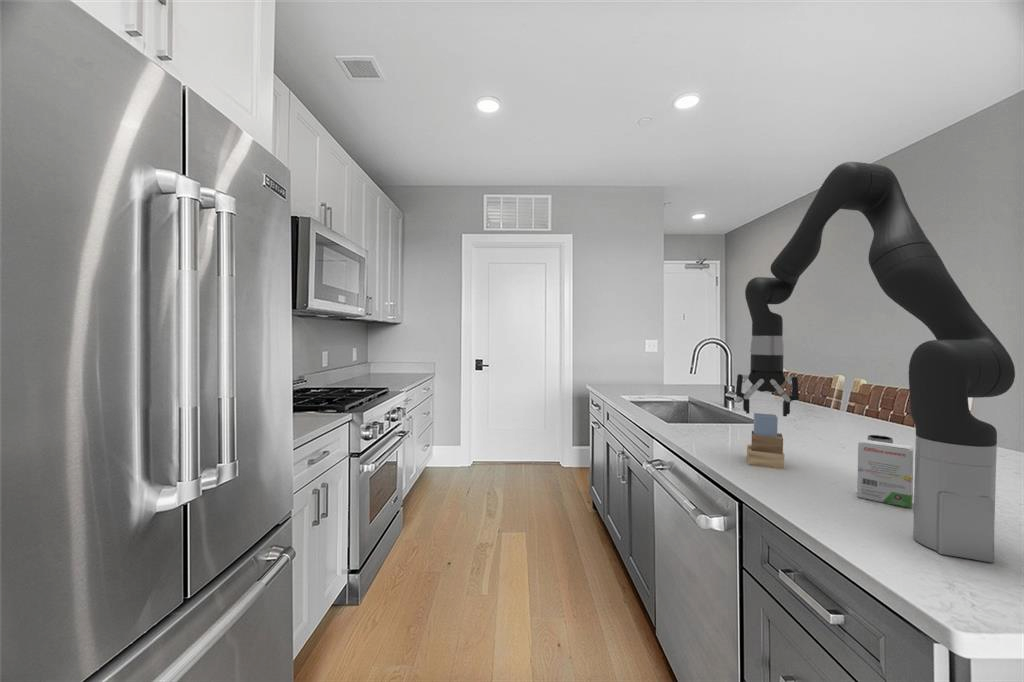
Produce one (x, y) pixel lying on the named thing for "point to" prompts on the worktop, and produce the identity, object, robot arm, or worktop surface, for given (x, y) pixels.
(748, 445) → the oak block
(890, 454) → the ink box
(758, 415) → the blue cube
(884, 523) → the worktop surface
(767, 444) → the walnut block
